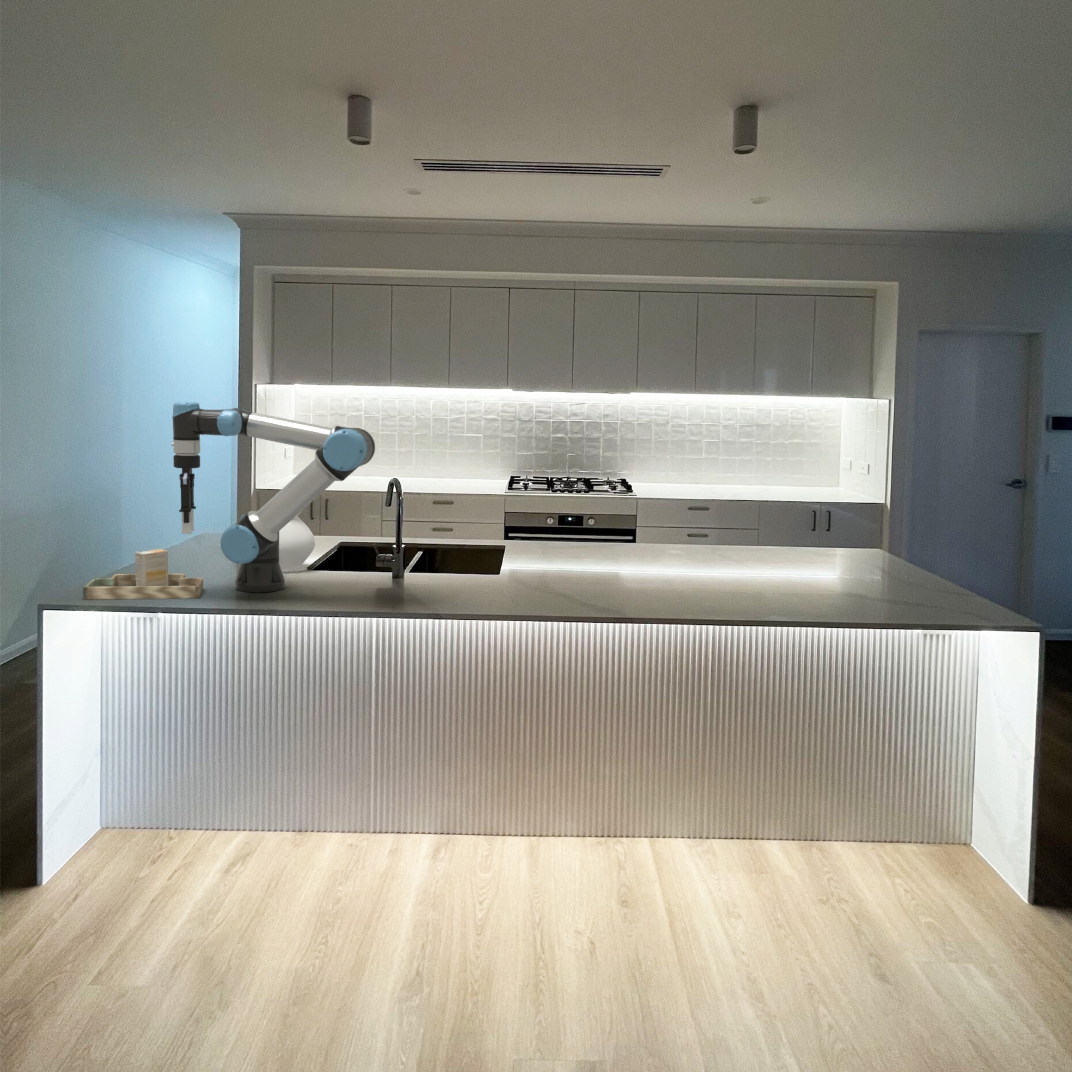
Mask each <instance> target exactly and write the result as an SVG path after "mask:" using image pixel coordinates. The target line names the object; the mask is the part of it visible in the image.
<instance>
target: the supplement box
mask: <svg viewBox="0 0 1072 1072" xmlns="http://www.w3.org/2000/svg"><path fill="white" fill-rule="evenodd" d="M168 554H169V552H168V550H165V549H161V548H157V549H148V550H142V551H141V550H140V551H135V552H134V557H135V558H134V560H135V574H136V586H168V574H169V562H168V561H169V560H168V559H169V556H168Z"/></svg>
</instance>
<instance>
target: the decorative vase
mask: <svg viewBox="0 0 1072 1072" xmlns="http://www.w3.org/2000/svg"><path fill="white" fill-rule="evenodd" d="M302 512H303V510H302V511H301V512H300V513H299V514H298V515H297V516H295V517H294V518H293V519H292V520H291V521H290V522H289V523H288V524H287V525H285V526H284V527H283V528H282V529H281V530H280V531H279V564H280V567H281V570H282V573H300V572H305V571H307V570H308V566H306V565H303V564H304V563H305V562H306V561H307V559H308V558H309V557H310V556H311V554H312V553H313V551H314V550H315V548H316V541H315V540H316V539H315V536H314V533H313V532H312V530H311V529H310V527H308V525H307V524H306V523H305V522H304V521H303V520H302V519H301V518H300V517H299V515H300V514H301V513H302Z"/></svg>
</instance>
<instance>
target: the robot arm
mask: <svg viewBox="0 0 1072 1072" xmlns="http://www.w3.org/2000/svg"><path fill="white" fill-rule="evenodd" d="M172 435H173V436H172V437H173V442H171V444H170V445H171V447H173V453H174V455H173V468H176V469H181V473H180V474H179V481H180V482H179V483H180V484H179V487H180V509H179V510H178V511H179V512H178V513H181V534H183V535H190V534H193V532H194V530H195V529H194V528H195V525H194V523H195V521H194V516H195V515H194V510H196V509H197V507H196V505H195V501H194V500H195V496H194V493H195V492H194V490H195V489H194V487H195V478H196V477H195V476H196V475H195V473H193V469H199V468H200V467H201V456H200V455H199V454H201V435H202V436H205V435H206V436H222V437H223V436H224V437H234V436H235V437H236V436H239V435H240V436H245V437H251V438H254V439H255V438H256V439H259V440H265V441H270V442H274V443H279V444H284V445H289V446H294V447H297V448H298V447H299V448H304V449H309V450H313V451H315V452H314V454H315V455H314V459H313V461H311V462H310V463H309V464H308V465H307V466H306V467H305V468H303V469H302V470H301V471H300V472H298V474H297V475H295V477H293V478H292V479H291V480H290V481H289V482H288V483H287V484H286V485H285V486H283V487H282V489H280V490H279V491H278V492H277V493H275V495H274V496H273V497H271V498H270V499H269V500H268V501H267V502H266V503H264V505H263V506H261V507H260V509H258V510H257V511H256V510H250V511H248V512H247V513H246V514H242V515H240V519H239V520H238V521H237V522H236V523H235V524H232V525H230V526H228V527H227V528H226V529H225V530H224V531H223V533H222V534H221V536H220V549H221V552H222V554H223V555H224V557H225V558H226V559H228V561H230V562H231V563H234V564H236V565H237V564H238V565H239V569H238V570H237V574H236V578H235V580H234V589H236V590H237V591H241V592H248V593H269V592H276V591H280V590H283V588H284V589H285V588H286V580H285V576H284V572H282V570H281V567H280V564H279V531H280V530H281V529H282V528H283V527H284V526H285V525H287V524H288V523H289V522H290V521H291V520H292V519H293V518H294V517H295V516H297V515H298V514H299V513H300V512H301V511H302V512H303V510H305V509H306V508H307V507H308V506H309V505H310V504H311V503H312V502H314V500H316V499H317V498H318V497H319V496H320V495H322V493H324V492H325V491H326V490H327V489H328V488H329V487H331V485H332V484H333V483H335V482H343V481H345V480H346V479H347V478H348V477H349V476H351V474H353V473H354V471H356V470H357V469H358V468H359V467H362V466H364V465H366V464H368V463H369V462H370V461H371V460H372V458H373V457H374V455H375V452H376V444H375V439H374V438H373V436H372V435H371V434H370V433H369V432H368V431H367V430H365V429H362V428H359V427H345V426H340V425H335V426H333V427H329V426H322V425H320V424H319V425H317V424H313V423H307V422H302V421H300V420H299V421H297V420H293V419H288V418H283V417H279V416H274V415H270V414H269V415H268V414H263V413H258V412H252V411H247V410H245V409H243V408H238V407H234V408H228V409H227V408H225V409H203V408H201V407H200V403H199V402H195V401H176V402H174V403H173V405H172ZM302 512H301V513H302ZM301 513H300V514H301ZM300 514H299V515H300ZM299 515H298V516H299Z"/></svg>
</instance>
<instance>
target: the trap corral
mask: <svg viewBox="0 0 1072 1072" xmlns="http://www.w3.org/2000/svg"><path fill="white" fill-rule="evenodd" d="M82 588H83V589H82V593H83V594H82V595H83V600H147V599H148V600H150V599H151V600H152V599H154V600H155V599H157V600H158V599H159V600H160V599H161V600H163V599H166V600H167V599H199V598H200V596H201V594H202V593H203V590H204V577H186V573H168V586H136V573H130V574H128V573H118V574H117V573H116V574H115V573H114V574H113V575H112V576H111V577H109V578H107V577H106V578H92V579H91V580H89V581H88V582H87V583H86V584H85V585H84V586H83V587H82Z"/></svg>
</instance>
